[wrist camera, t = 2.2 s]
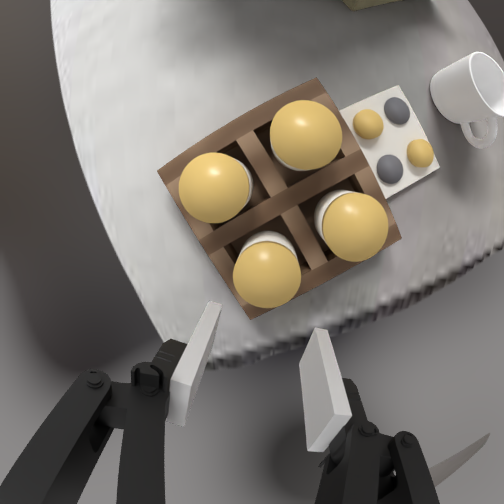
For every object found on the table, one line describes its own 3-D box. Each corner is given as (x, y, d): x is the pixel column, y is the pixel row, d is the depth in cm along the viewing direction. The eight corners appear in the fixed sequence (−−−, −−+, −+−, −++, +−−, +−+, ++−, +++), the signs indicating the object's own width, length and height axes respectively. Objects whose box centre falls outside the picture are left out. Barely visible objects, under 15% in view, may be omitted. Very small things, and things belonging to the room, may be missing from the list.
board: (171, 171, 32) (156, 170, 28) (311, 89, 28) (316, 77, 24) (253, 302, 36) (250, 319, 32) (386, 230, 32) (401, 238, 28)
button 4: (303, 206, 28) (311, 214, 22) (351, 179, 27) (371, 181, 21) (329, 254, 29) (342, 273, 23) (375, 228, 28) (397, 241, 22)
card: (335, 113, 29) (339, 109, 27) (395, 86, 27) (402, 82, 25) (381, 199, 31) (387, 200, 29) (436, 167, 29) (444, 167, 27)
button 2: (230, 247, 30) (220, 265, 24) (278, 220, 29) (280, 231, 23) (258, 292, 31) (254, 318, 25) (305, 267, 30) (312, 289, 24)
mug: (477, 151, 28) (523, 150, 18) (439, 148, 29) (486, 145, 19) (462, 76, 25) (502, 60, 15) (421, 68, 25) (460, 44, 16)
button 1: (187, 177, 28) (166, 177, 22) (234, 146, 27) (224, 139, 21) (215, 224, 29) (201, 236, 23) (264, 195, 28) (262, 200, 22)
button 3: (259, 132, 26) (256, 120, 21) (309, 106, 25) (318, 89, 19) (289, 181, 27) (293, 182, 22) (338, 154, 26) (354, 149, 21)
